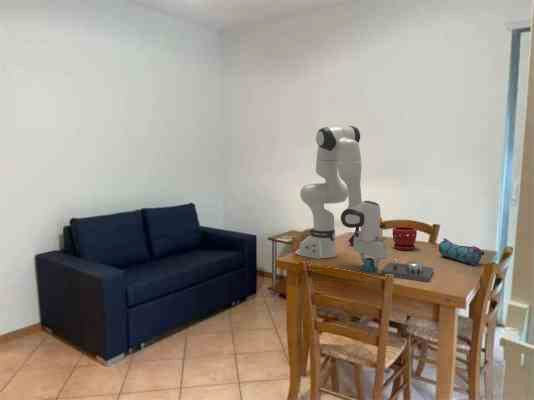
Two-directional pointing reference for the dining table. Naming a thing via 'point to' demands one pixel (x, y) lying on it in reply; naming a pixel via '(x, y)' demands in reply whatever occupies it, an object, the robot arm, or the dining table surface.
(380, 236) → the black-topped pedestal
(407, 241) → the plant pot
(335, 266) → the dining table surface
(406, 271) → the carrier plate
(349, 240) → the perfume bottle
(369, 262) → the planet gear
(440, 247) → the pencil case
